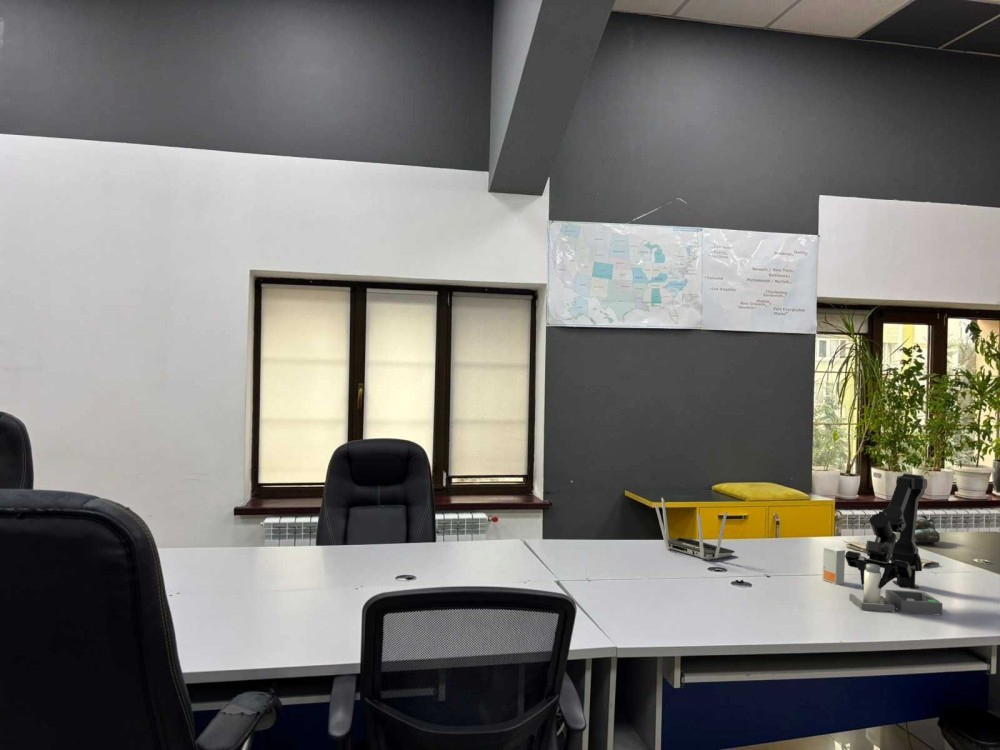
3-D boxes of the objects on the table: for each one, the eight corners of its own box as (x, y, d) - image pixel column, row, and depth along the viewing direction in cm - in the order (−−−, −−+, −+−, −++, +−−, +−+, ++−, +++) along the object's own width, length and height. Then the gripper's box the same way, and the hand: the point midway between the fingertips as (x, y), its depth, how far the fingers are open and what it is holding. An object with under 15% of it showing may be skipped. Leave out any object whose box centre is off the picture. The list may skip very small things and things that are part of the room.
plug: (860, 602, 234) (862, 562, 234) (876, 603, 233) (877, 563, 233) (866, 607, 229) (868, 566, 229) (882, 608, 228) (884, 567, 228)
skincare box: (821, 579, 259) (823, 546, 259) (830, 578, 261) (831, 545, 261) (835, 584, 254) (837, 550, 254) (844, 583, 255) (845, 550, 255)
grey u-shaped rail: (849, 599, 237) (849, 593, 237) (881, 601, 236) (881, 595, 236) (861, 609, 227) (861, 603, 227) (894, 611, 226) (894, 605, 226)
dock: (885, 600, 237) (885, 587, 237) (923, 602, 236) (924, 590, 236) (901, 612, 225) (901, 599, 225) (942, 615, 224) (942, 601, 224)
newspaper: (939, 567, 285) (939, 558, 285) (919, 570, 279) (920, 561, 279) (858, 546, 316) (859, 538, 316) (839, 548, 310) (839, 540, 310)
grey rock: (900, 543, 322) (894, 513, 329) (906, 550, 330) (900, 520, 337) (938, 539, 314) (931, 508, 320) (944, 546, 322) (936, 515, 328)
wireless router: (746, 559, 285) (748, 509, 285) (708, 567, 272) (709, 514, 272) (681, 541, 313) (683, 495, 313) (643, 547, 300) (644, 499, 300)
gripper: (848, 526, 240) (834, 564, 233) (910, 536, 227) (897, 578, 219) (855, 546, 246) (842, 584, 238) (916, 557, 233) (904, 598, 225)
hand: (870, 585), depth 230 cm, fingers closed on plug, 5 cm apart
